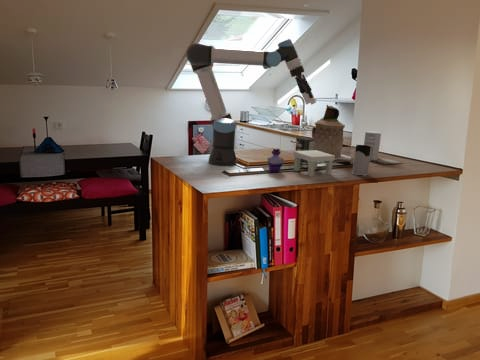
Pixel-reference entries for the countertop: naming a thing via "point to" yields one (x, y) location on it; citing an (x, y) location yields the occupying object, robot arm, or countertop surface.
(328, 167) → the footstool
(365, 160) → the glass holder
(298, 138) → the coffee can
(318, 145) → the cookie jar
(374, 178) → the countertop surface
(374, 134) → the supplement box
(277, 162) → the potion bottle
